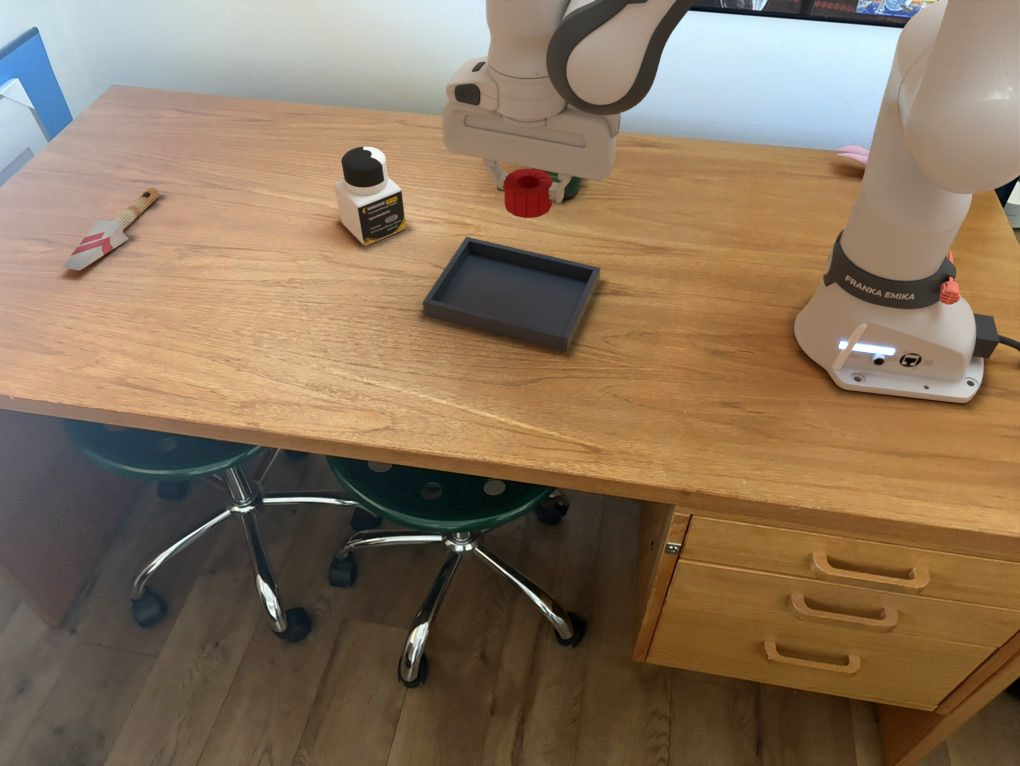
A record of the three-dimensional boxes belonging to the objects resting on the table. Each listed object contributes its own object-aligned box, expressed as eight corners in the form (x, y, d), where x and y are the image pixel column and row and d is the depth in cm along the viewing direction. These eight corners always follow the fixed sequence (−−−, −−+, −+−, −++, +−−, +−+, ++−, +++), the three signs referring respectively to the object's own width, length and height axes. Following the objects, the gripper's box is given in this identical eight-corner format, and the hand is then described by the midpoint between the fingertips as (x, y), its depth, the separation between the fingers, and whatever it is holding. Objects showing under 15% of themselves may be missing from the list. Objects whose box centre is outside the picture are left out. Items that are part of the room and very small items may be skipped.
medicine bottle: (364, 247, 114) (352, 175, 105) (340, 223, 118) (327, 151, 109) (407, 229, 117) (398, 157, 108) (382, 206, 121) (372, 135, 112)
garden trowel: (54, 257, 108) (140, 182, 121) (61, 273, 110) (146, 198, 123) (78, 262, 107) (163, 186, 121) (86, 278, 109) (168, 202, 122)
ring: (557, 195, 98) (558, 173, 96) (542, 222, 95) (543, 199, 92) (514, 187, 100) (514, 164, 97) (498, 212, 96) (497, 190, 94)
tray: (599, 282, 109) (600, 267, 107) (566, 354, 100) (567, 339, 98) (466, 251, 113) (466, 236, 111) (424, 317, 104) (422, 301, 102)
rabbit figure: (924, 181, 128) (833, 151, 129) (945, 149, 123) (851, 119, 124) (924, 202, 124) (830, 171, 125) (946, 171, 119) (848, 139, 120)
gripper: (629, 87, 85) (618, 196, 96) (454, 58, 90) (461, 165, 100) (614, 115, 81) (604, 225, 92) (431, 84, 86) (441, 192, 97)
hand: (528, 193), depth 96 cm, fingers closed on ring, 5 cm apart
